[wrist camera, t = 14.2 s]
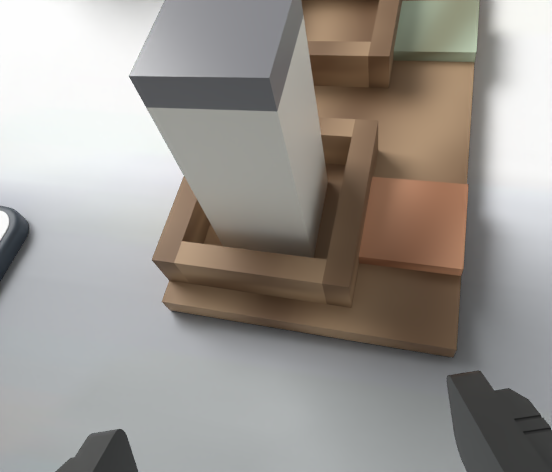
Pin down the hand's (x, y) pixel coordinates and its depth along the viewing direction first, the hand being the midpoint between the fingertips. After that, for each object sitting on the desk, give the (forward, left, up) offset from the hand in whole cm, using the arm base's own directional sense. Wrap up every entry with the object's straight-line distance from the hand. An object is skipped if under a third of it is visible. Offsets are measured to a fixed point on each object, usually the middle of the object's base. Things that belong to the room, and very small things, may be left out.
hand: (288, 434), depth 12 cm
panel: (-2, +16, -7) cm, 17 cm away
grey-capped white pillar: (-4, +10, -6) cm, 12 cm away
